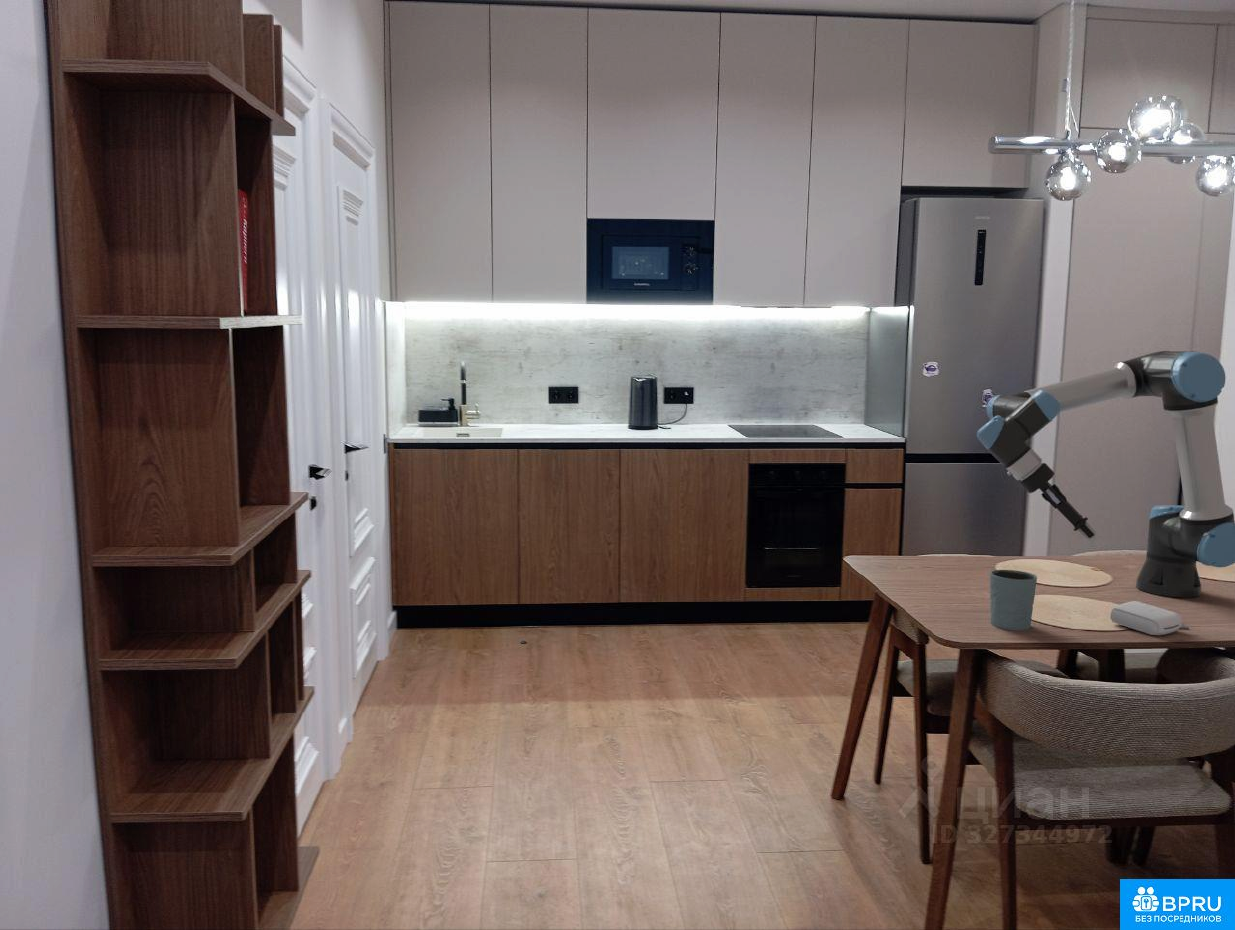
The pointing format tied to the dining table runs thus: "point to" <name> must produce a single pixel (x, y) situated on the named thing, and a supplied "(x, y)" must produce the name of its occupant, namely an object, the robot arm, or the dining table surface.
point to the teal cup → (1012, 599)
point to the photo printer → (1146, 618)
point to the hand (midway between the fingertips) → (1101, 546)
